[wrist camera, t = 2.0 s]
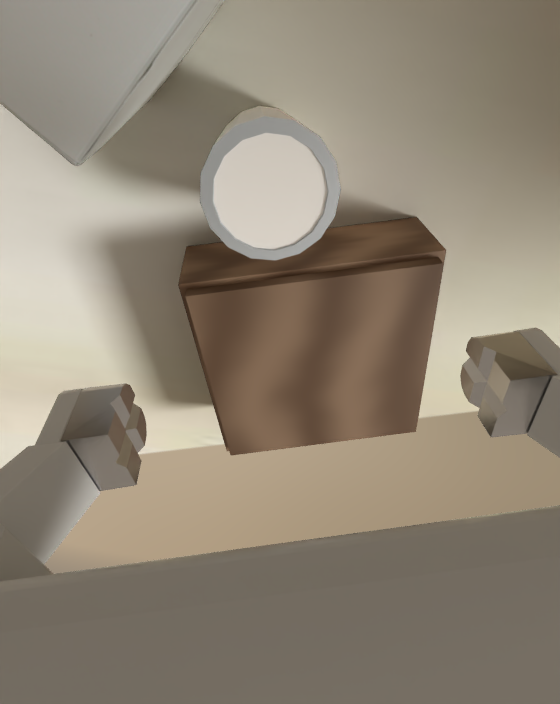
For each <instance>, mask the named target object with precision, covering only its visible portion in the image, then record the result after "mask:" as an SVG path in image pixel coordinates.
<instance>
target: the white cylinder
mask: <svg viewBox="0 0 560 704" xmlns="http://www.w3.org/2000/svg"><path fill="white" fill-rule="evenodd" d="M340 191H341V188H340V182H339V176H338V170H337V164H336V161H335V159H334V158H333V156H332V154H331V153H330V151H329V150H328V148H327V147H326V145H325V143H324V142H323V140H322V139H321V137H320V136H318V135H317V134H316V133H314V132H313V131H311V130H310V129H308V128H307V127H305V126H304V125H303V124H301V123H300V122H298V121H297V120H295V119H294V118H292V117H291V116H289V115H288V114H286V113H285V112H283V111H282V110H280V109H279V108H272V107H265V106H257V107H254V108H251V109H248V110H245V111H242V112H240V113H239V114H238V115H237V116H236V117H235V118H234V119H233V120H232V121H231V122H229V123H228V124H227V125H226V127H225V128H224V130H223V131H222V133H221V134H220V136H219V137H218V139H217V140H216V142H215V143H214V145H213V147H212V149H211V151H210V153H209V156H208V158H207V160H206V163H205V165H204V167H203V169H202V172H201V181H200V203H201V206H202V208H203V211H204V214H205V216H206V219H207V221H208V224H209V226H210V228H211V229H212V231H213V232H214V233H215V234H216V235H217V236H218V237H219V238H220V239H221V240H222V241H223V242H224V243H225V245H226V246H227V247H229V248H231V249H233V250H235V251H237V252H239V253H241V254H243V255H245V256H247V257H249V258H253V259H265V260H279V259H283V258H286V257H290V256H293V255H297V254H300V253H301V252H303V251H304V250H306V249H307V248H308V247H310V246H311V245H312V244H314V243H315V242H316V241H318V240H319V239H320V238H321V237H322V235H323V234H324V232H325V231H326V229H327V228H328V226H329V225H330V223H331V222H332V220H333V219H334V217H335V214H336V209H337V205H338V200H339V196H340Z"/></svg>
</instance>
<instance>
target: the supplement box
mask: <svg viewBox="0 0 560 704" xmlns="http://www.w3.org/2000/svg"><path fill="white" fill-rule="evenodd" d="M223 2H224V0H0V104H2V105H3V106H4V107H5V108H6V109H8V110H9V111H10V112H11V113H12V114H13V115H15V116H16V117H17V118H18V119H19V120H20V121H22V122H23V123H24V124H25V125H26V126H28V127H29V128H30V129H31V130H32V131H34V132H35V133H36V134H37V135H38V136H40V137H41V138H42V139H43V140H44V141H46V142H47V143H48V144H49V145H50V146H51V147H53V148H54V149H55V150H56V151H57V152H59V153H60V154H61V155H62V156H63V157H64V158H66V159H67V160H68V161H69V162H70V163H71V164H73V165H76V166H79V165H81V164H82V163H84V162H85V161H86V160H87V159H88V158H90V157H91V156H92V155H93V154H94V153H96V152H97V151H98V150H99V149H100V148H101V147H102V146H103V145H104V144H105V143H106V142H107V141H108V140H109V139H110V138H111V137H112V136H113V135H114V134H115V133H116V132H117V131H118V130H119V129H120V128H121V127H122V126H123V125H124V124H125V123H126V122H127V121H128V120H129V119H130V118H131V117H132V116H133V115H134V114H135V113H136V112H137V111H138V110H139V109H141V108H142V107H143V106H144V105H145V104H146V103H147V102H148V101H149V100H150V99H151V98H152V97H153V95H154V94H155V93H156V92H157V91H158V89H159V88H160V87H161V86H162V84H163V83H164V82H165V81H166V79H167V78H168V77H169V76H170V74H171V73H172V72H173V71H174V69H175V68H176V67H177V65H178V64H179V63H180V62H181V60H182V59H183V58H184V56H185V55H186V54H187V52H188V51H189V50H190V48H191V47H192V45H193V44H194V43H195V41H196V40H197V38H198V37H199V36H200V34H201V33H202V32H203V30H204V29H205V27H206V26H207V25H208V23H209V22H210V20H211V19H212V17H213V16H214V15H215V13H216V12H217V10H218V9H219V8H220V6H221V5H222V3H223Z"/></svg>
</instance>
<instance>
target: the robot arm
mask: <svg viewBox="0 0 560 704" xmlns="http://www.w3.org/2000/svg"><path fill="white" fill-rule="evenodd" d="M466 352H467V353H468V355H469V356H470V358H469V359H468V360H467V361H466V362H465V363H464V364H463V365H462V370H461V375H460V376H461V385H462V389H463V392H464V394H465V396H466V398H467V399H468V401H469V402H470V403H472V404H473V405H475V406H477V407H479V408H480V409H479V412H478V417H479V419H480V421H481V422H482V424H483V426H484V427H485V429H486V430H487V432H488V434H489V435H490V436H491V437H499V436H507V435H517V434H525V433H528V434H527V435H528V436H529V437H531V438H532V439H534V440H535V441H537V442H538V443H539V444H541V445H542V446H544V447H545V448H547V449H548V450H549V451H551V452H552V453H554V454H555V455H557V456H558V457H560V348H559V347H558V346H557V345H556V344H555V343H554V342H553V341H552V340H551V339H550V338H549V337H548V336H547V335H546V334H545V333H544V332H543V331H542V330H540V329H538V328H530V329H524V330H517V331H513V332H506V333H499V334H492V335H485V336H478V337H471V339H470V340H469V342H468V344H467V348H466ZM134 397H135V394H134V392H133V390H132V388H131V386H130V385H128V384H117V385H108V386H99V387H90V388H84V389H75V390H66V391H63V392H61V393H60V394H59V395H58V397H57V399H56V401H55V403H54V405H53V407H52V410H51V412H50V414H49V416H48V418H47V420H46V422H45V425H44V427H43V429H42V431H41V433H40V435H39V437H38V439H37V442H36V444H35V446H28V447H27V448H26V449H24V450H23V451H22V452H21V453H19V454H18V455H17V456H16V457H15V458H13V459H12V460H11V461H10V462H9V463H7V464H6V465H5V466H4V467H2V468H1V469H0V704H560V505H559V506H551V507H545V508H538V509H530V510H522V511H515V512H507V513H500V514H493V515H486V516H478V517H471V518H464V519H456V520H449V521H442V522H434V523H427V524H419V525H412V526H405V527H397V528H390V529H383V530H376V531H369V532H361V533H353V534H346V535H338V536H331V537H324V538H317V539H309V540H302V541H294V542H287V543H279V544H272V545H265V546H258V547H250V548H243V549H236V550H228V551H221V552H213V553H206V554H198V555H191V556H184V557H176V558H169V559H162V560H154V561H147V562H140V563H132V564H125V565H117V566H110V567H102V568H95V569H88V570H80V571H73V572H65V573H58V574H53V573H52V572H51V571H50V570H49V569H48V568H47V567H46V566H45V565H44V564H45V563H46V562H47V560H48V559H49V558H50V557H51V555H52V554H53V553H54V551H55V550H56V549H57V548H58V546H59V545H60V544H61V543H62V541H63V540H64V539H65V537H66V536H67V535H68V533H69V532H70V531H71V530H72V528H73V527H74V526H75V525H76V523H77V522H78V520H79V519H80V518H81V517H82V516H83V514H84V513H85V512H86V511H87V509H88V508H89V507H90V505H91V504H92V503H93V501H94V500H95V499H96V497H98V495H99V494H100V491H103V490H109V489H115V488H121V487H128V486H134V485H136V484H137V479H138V474H139V470H140V465H141V460H140V457H139V455H138V452H139V451H140V450H141V449H142V448H143V447H144V446H145V441H146V421H145V417H144V414H143V412H142V409H141V408H140V407H138V406H137V405H135V404H133V401H134Z"/></svg>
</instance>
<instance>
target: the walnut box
mask: <svg viewBox="0 0 560 704" xmlns="http://www.w3.org/2000/svg"><path fill="white" fill-rule="evenodd" d="M445 254H446V249H445V248H444V247H443V246H442V245H441V244H440V243H439V242H438V240H437V239H436V238H435V237H434V236H433V235H432V234H431V233H430V231H429V230H428V229H427V228H426V227H425V226H424V225H423V224H422V222H421V221H420V220H419V219H418V218H417V217H413V218H405V219H398V220H390V221H382V222H374V223H367V224H359V225H351V226H343V227H335V228H328V229H326V231H325V232H324V234H323V235H322V237H321V238H320V239H319V240H318V241H316V242H315V243H314V244H312V245H311V246H310V247H308V248H307V249H306V250H304V251H303V252H301V253H300V254H297V255H293V256H290V257H286V258H283V259H279V260H265V259H253V258H249V257H247V256H245V255H243V254H241V253H239V252H237V251H235V250H233V249H231V248H229V247H227V246H226V245H225V243H224V242H219V243H211V244H203V245H196V246H188V247H186V251H185V256H184V261H183V265H182V270H181V274H180V279H179V284H178V285H179V289H180V292H181V296H182V299H183V302H184V306H185V309H186V313H187V316H188V320H189V323H190V326H191V330H192V333H193V337H194V340H195V344H196V347H197V350H198V354H199V357H200V361H201V364H202V368H203V371H204V374H205V378H206V381H207V385H208V388H209V392H210V395H211V398H212V402H213V405H214V409H215V412H216V416H217V419H218V422H219V426H220V429H221V433H222V436H223V440H224V443H225V446H226V449H227V451H230V454H231V455H237V454H245V453H253V452H261V451H269V450H277V449H284V448H292V447H300V446H308V445H315V444H323V443H331V442H338V441H347V440H354V439H362V438H370V437H377V436H386V435H393V434H401V433H409V432H416V427H417V422H418V416H419V410H420V404H421V398H422V392H423V386H424V380H425V374H426V368H427V362H428V356H429V350H430V344H431V338H432V332H433V326H434V320H435V314H436V308H437V302H438V296H439V290H440V284H441V278H442V272H443V266H444V260H445Z"/></svg>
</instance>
